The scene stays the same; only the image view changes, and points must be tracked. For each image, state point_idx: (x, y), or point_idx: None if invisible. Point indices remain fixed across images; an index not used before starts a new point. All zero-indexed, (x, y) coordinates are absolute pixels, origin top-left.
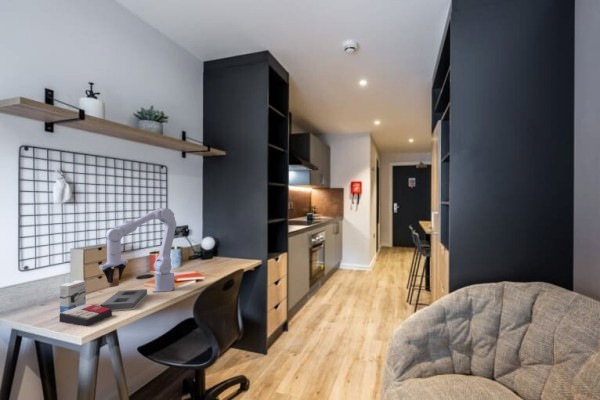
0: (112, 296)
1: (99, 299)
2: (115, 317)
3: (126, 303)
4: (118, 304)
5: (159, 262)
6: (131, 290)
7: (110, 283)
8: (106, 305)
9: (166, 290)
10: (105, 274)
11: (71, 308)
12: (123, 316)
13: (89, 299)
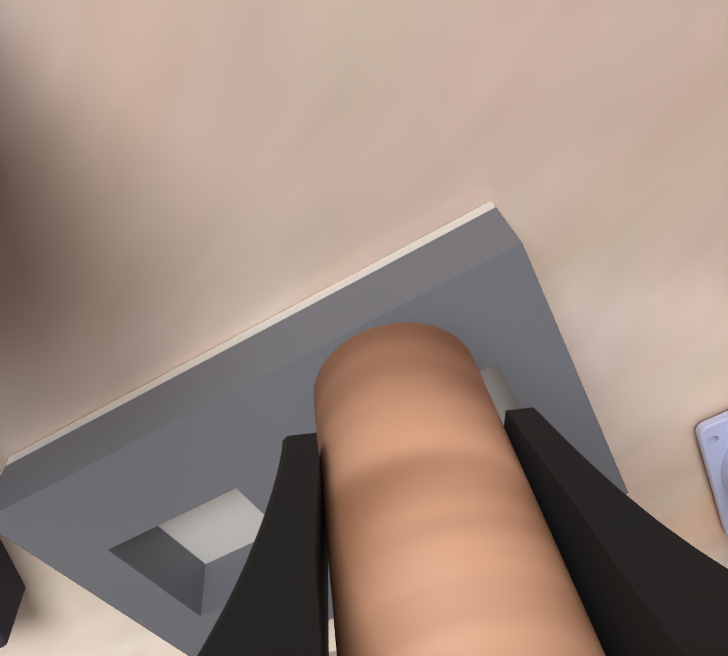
0: (263, 388)
1: (299, 8)
2: (21, 630)
3: (170, 642)
4: (121, 603)
5: None
6: (558, 389)
7: (319, 444)
8: (33, 543)
9: (722, 514)
10: (222, 631)
11: None
12: (73, 650)
13: None
